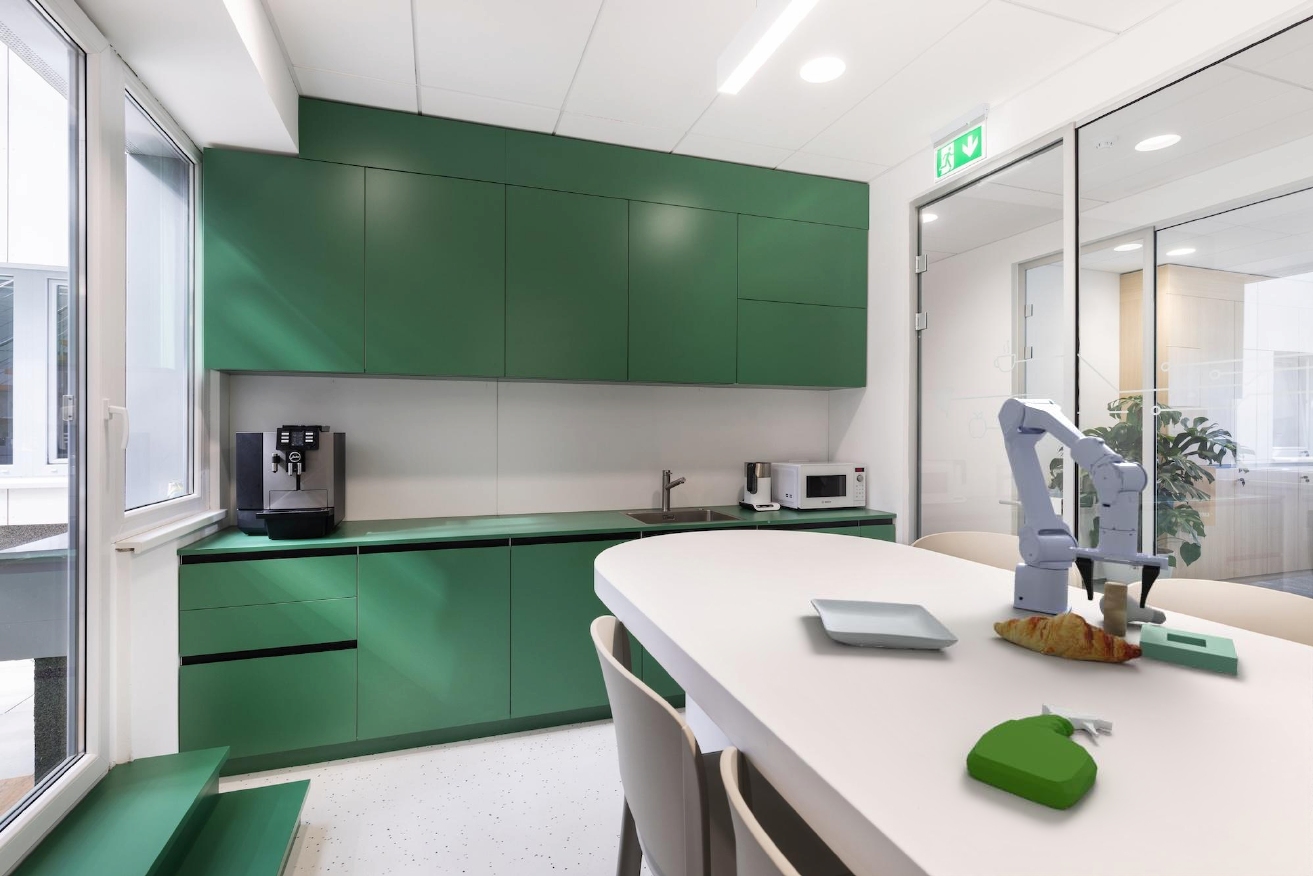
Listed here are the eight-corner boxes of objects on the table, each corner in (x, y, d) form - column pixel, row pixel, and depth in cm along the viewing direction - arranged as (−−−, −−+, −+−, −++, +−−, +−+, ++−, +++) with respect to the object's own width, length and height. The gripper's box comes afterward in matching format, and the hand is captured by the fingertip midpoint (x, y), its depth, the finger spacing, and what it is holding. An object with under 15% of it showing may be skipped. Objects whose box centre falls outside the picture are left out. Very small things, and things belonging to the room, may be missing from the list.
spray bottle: (956, 776, 69) (1026, 711, 86) (1075, 823, 61) (1126, 741, 79) (957, 749, 69) (1027, 689, 86) (1076, 791, 61) (1127, 716, 79)
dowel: (1102, 633, 118) (1104, 584, 118) (1103, 629, 121) (1105, 581, 120) (1125, 637, 116) (1127, 587, 116) (1126, 633, 119) (1128, 584, 118)
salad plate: (920, 619, 126) (921, 602, 126) (960, 659, 104) (961, 637, 104) (809, 614, 128) (809, 596, 128) (826, 651, 107) (826, 630, 107)
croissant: (989, 660, 113) (984, 625, 110) (1000, 622, 120) (996, 587, 117) (1141, 691, 100) (1140, 652, 97) (1143, 646, 107) (1143, 608, 104)
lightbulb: (1161, 599, 126) (1098, 583, 129) (1178, 608, 120) (1111, 591, 123) (1153, 629, 126) (1090, 613, 129) (1169, 639, 120) (1103, 621, 123)
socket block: (1138, 656, 106) (1139, 640, 106) (1141, 638, 116) (1142, 624, 116) (1237, 674, 99) (1237, 658, 99) (1231, 654, 108) (1232, 639, 108)
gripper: (1068, 526, 119) (1066, 600, 119) (1169, 536, 110) (1166, 615, 110) (1072, 522, 125) (1070, 593, 125) (1169, 531, 116) (1166, 607, 116)
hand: (1115, 603), depth 118 cm, fingers open, 7 cm apart
